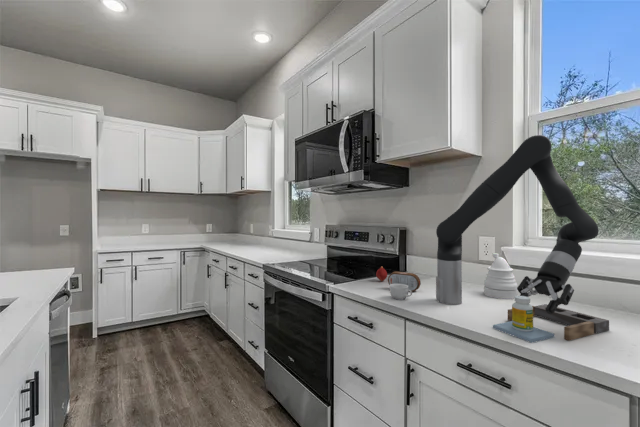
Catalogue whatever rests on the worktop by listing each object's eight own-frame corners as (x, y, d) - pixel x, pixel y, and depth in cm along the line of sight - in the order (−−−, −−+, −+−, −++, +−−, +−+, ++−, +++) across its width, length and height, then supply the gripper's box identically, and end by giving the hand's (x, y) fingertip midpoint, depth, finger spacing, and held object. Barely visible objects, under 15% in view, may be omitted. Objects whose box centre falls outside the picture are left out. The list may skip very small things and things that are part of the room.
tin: (420, 291, 143) (420, 273, 143) (419, 293, 140) (418, 274, 140) (389, 287, 151) (389, 270, 151) (387, 289, 148) (387, 271, 148)
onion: (375, 280, 167) (374, 265, 167) (385, 280, 168) (385, 265, 168) (377, 282, 161) (377, 267, 161) (388, 282, 162) (388, 267, 162)
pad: (514, 323, 101) (514, 320, 101) (554, 337, 90) (554, 333, 90) (492, 328, 97) (492, 324, 97) (531, 342, 86) (531, 339, 86)
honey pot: (478, 294, 137) (478, 254, 137) (491, 289, 145) (491, 251, 145) (510, 300, 127) (510, 257, 127) (522, 295, 135) (522, 254, 135)
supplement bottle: (517, 324, 97) (517, 294, 97) (536, 329, 93) (536, 297, 93) (508, 328, 94) (508, 296, 94) (528, 333, 90) (528, 300, 90)
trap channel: (545, 312, 112) (545, 302, 112) (609, 330, 95) (609, 318, 95) (507, 320, 104) (507, 309, 104) (568, 340, 87) (568, 328, 87)
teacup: (386, 298, 132) (385, 285, 132) (396, 294, 137) (396, 282, 137) (406, 303, 125) (406, 289, 125) (416, 299, 130) (416, 286, 130)
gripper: (529, 257, 105) (505, 295, 101) (577, 264, 92) (552, 307, 88) (539, 272, 107) (517, 309, 103) (587, 280, 94) (564, 323, 90)
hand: (533, 308), depth 95 cm, fingers open, 8 cm apart
